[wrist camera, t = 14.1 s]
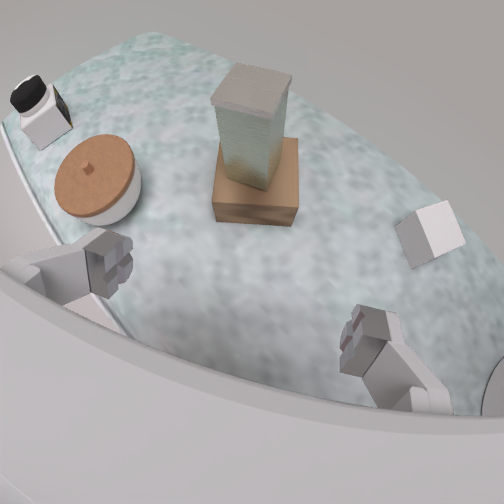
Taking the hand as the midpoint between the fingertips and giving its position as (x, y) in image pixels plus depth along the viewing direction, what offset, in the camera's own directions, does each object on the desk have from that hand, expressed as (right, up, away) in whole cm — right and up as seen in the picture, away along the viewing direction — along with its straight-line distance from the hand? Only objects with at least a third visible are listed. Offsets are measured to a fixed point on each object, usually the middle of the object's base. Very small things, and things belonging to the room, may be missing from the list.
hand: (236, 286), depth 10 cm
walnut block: (+1, +9, +28) cm, 29 cm away
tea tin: (+1, +10, +22) cm, 24 cm away
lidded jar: (-18, +8, +27) cm, 34 cm away
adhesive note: (+23, +2, +26) cm, 35 cm away
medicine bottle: (-34, +23, +31) cm, 52 cm away
